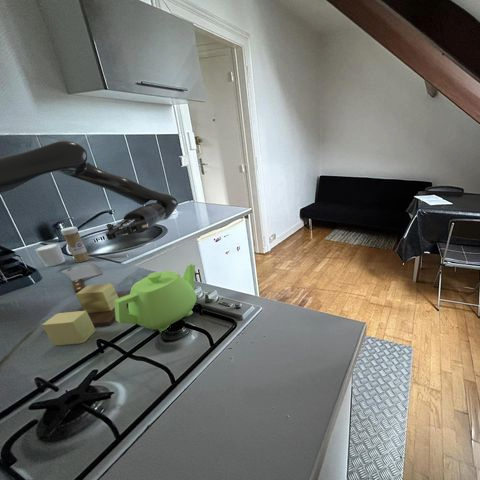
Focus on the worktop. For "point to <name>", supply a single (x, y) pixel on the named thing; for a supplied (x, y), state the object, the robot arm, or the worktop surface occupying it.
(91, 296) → the butter board
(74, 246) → the sprinkles bottle
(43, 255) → the white squat cylinder
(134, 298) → the teapot
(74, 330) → the block
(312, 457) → the worktop surface
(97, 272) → the kitchen cleaver
